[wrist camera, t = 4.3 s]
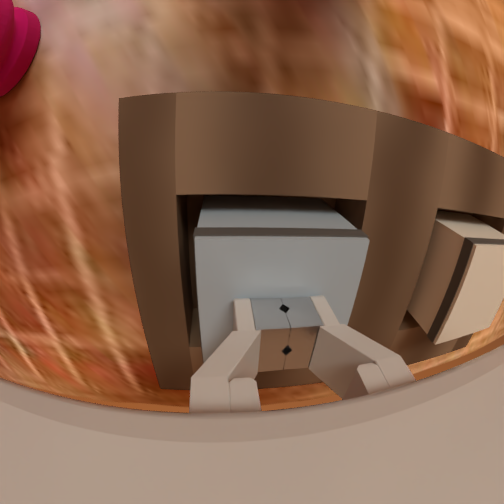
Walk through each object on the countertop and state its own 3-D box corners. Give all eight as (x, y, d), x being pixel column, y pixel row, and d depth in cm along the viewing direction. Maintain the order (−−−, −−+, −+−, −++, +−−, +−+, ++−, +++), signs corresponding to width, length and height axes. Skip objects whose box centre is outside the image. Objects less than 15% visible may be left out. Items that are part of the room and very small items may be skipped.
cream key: (470, 214, 14) (523, 246, 9) (447, 286, 16) (489, 327, 12) (413, 206, 13) (476, 244, 9) (391, 292, 15) (434, 345, 11)
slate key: (321, 197, 13) (371, 238, 8) (306, 294, 15) (336, 359, 11) (203, 194, 12) (192, 237, 8) (206, 297, 15) (202, 368, 10)
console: (478, 153, 14) (527, 170, 10) (435, 311, 20) (465, 346, 16) (153, 106, 12) (118, 98, 7) (170, 331, 18) (160, 388, 13)
